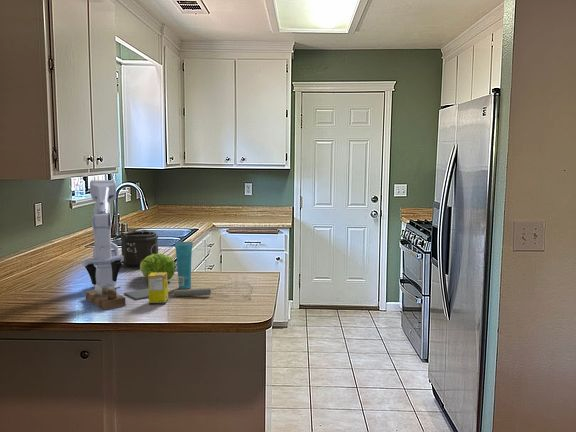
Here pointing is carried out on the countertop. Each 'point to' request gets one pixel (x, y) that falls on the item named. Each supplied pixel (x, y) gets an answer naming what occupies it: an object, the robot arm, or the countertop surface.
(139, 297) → the charcoal mat
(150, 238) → the dark speckled bucket
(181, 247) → the tube
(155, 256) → the lettuce
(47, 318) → the countertop surface
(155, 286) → the supplement box
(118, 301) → the walnut plane
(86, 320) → the countertop surface
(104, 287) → the lever cap
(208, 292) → the kitchen whisk
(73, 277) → the countertop surface
